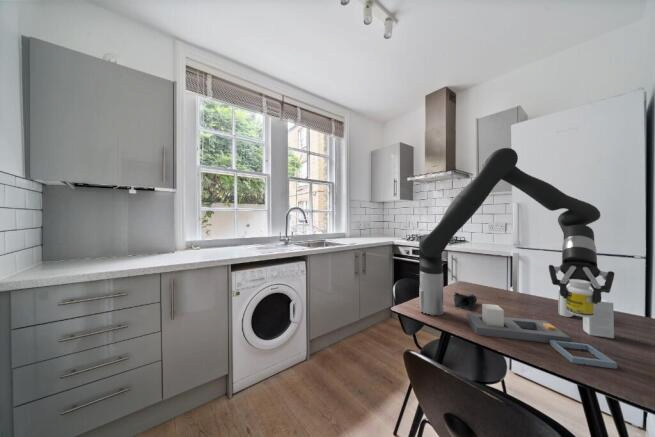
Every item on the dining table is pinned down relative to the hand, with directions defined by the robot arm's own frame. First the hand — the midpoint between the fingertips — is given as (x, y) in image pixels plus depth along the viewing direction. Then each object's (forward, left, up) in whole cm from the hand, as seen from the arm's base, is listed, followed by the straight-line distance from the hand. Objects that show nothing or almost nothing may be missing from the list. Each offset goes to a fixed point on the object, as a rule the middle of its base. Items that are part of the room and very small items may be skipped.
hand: (579, 299), depth 67 cm
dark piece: (-19, +36, -17) cm, 44 cm away
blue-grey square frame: (+1, +1, -17) cm, 17 cm away
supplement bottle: (+1, +2, -5) cm, 5 cm away
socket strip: (-11, +13, -17) cm, 24 cm away
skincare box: (+16, +18, -17) cm, 30 cm away
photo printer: (+18, +36, -17) cm, 44 cm away
